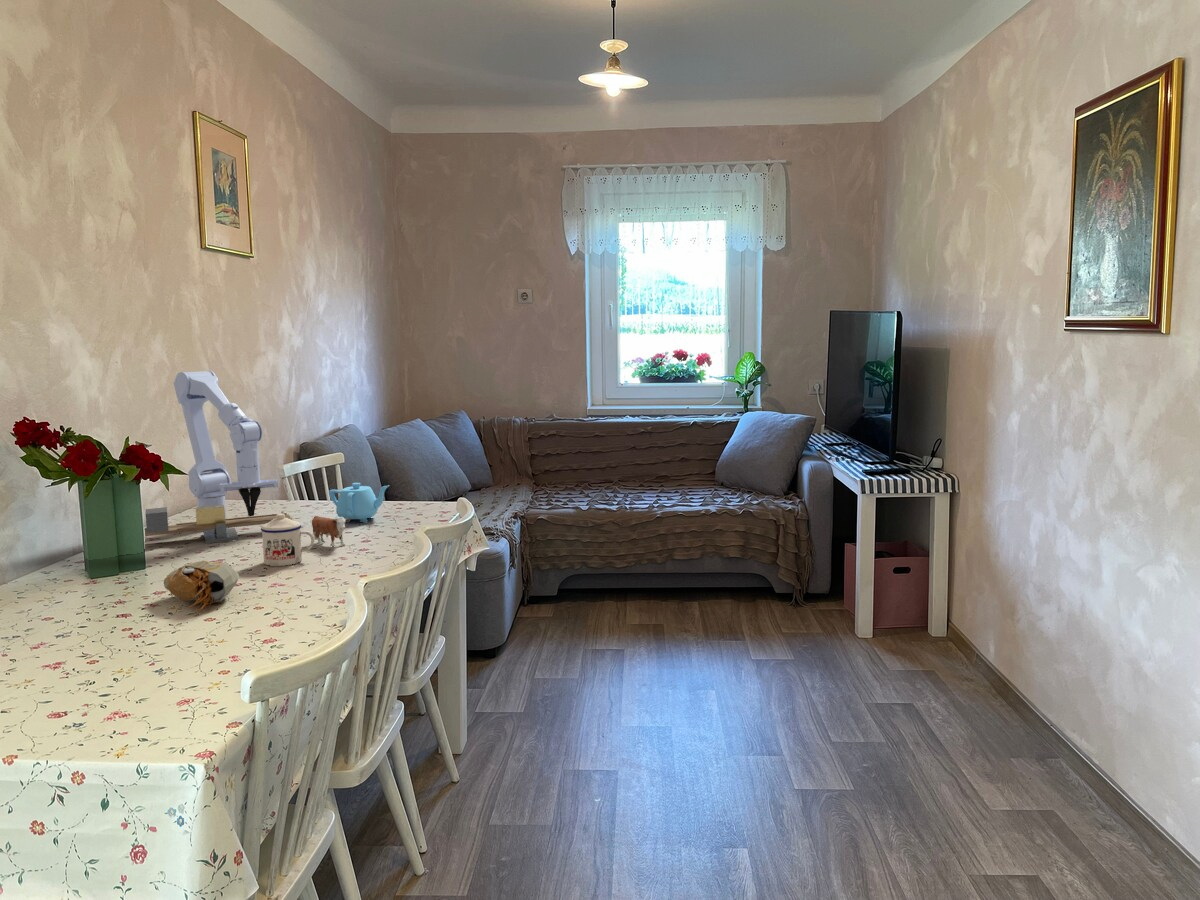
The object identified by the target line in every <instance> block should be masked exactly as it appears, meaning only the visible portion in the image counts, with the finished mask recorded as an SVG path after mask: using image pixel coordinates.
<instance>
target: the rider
mask: <svg viewBox="0 0 1200 900" xmlns="http://www.w3.org/2000/svg"><path fill="white" fill-rule="evenodd" d="M194 510H195V511H194V512H195V522H196V524H197V527H198V526H208V525H216V524H220V523H226V520H225V507H224V505H217V506H206V507H198V506H196V507H194Z"/></svg>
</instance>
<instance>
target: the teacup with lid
mask: <svg viewBox="0 0 1200 900" xmlns="http://www.w3.org/2000/svg"><path fill="white" fill-rule="evenodd" d="M276 514H277V515H276V519H273V520H271V521H270V522H269V523H266V524H261V528H260V531H261V536H262V538H261V539H262V553H263V563H264V565H265V566H268V565H270V566H269V567H286V566H285V565H288V566H292V564H293V565H296V564H299V563H301V562H302V560H303V553H304V552H308V551H309V550H311V549H312V548H313V546H314V544H315V541H316V540H315V538H314V535H313V532H311V531H308V530H301V528H302V525H301V522H299V521H298V520H293V519H292V520H291V519H289V518H285V515H284V514H282V513H276ZM301 535H308V536H309V537H310V540H311V541H310V544H309V546H307V547H303V548H302V536H301ZM298 562H299V563H298ZM295 563H296V564H295Z"/></svg>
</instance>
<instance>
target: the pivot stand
mask: <svg viewBox="0 0 1200 900" xmlns="http://www.w3.org/2000/svg"><path fill="white" fill-rule="evenodd" d="M202 532H203V534H204V535H203V537H204V538H205V539H204V538H203V539H204V542H205V544H206V543H208V544H215V542H217V543H226V541H227V542H234V541H233V540H236V541H239V535H238V533H237V530H236V527H232V528H226V523H220V524H216V529H212V530H202Z"/></svg>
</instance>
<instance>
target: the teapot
mask: <svg viewBox="0 0 1200 900" xmlns="http://www.w3.org/2000/svg"><path fill="white" fill-rule="evenodd" d="M389 487H390V485H389V484H388V485H384V486H382V487H381V488H380V489H379V494H378V497H376V495H375V493H374V491H373V489H372V487H371V486H369V485H368V486H367V485H361V482H353V483H351V486H347V487H344V488H343V489H341V490H340V489H330V490H329V491H328V495H329V498H330V499H331V501H332V503H333V504H334V506H336V507H335V510H336V511H335V513H336V515H337V517H343V518H344V519H347V518H349V519H350V520H349V521H348V522H349V523H350V522H351V520H359V522H367V521H368V520H369V519H367V518H371V517H374V516H375V515H376V514H377V513H378V510H379V508H380V507H381V506H382V504H383V503H384V498H385V497H384V496H385V492H386V489H387V488H389ZM335 494H339V495H338V496H339V497H338V498H336V496H335ZM368 522H369V521H368ZM368 522H367V523H368ZM345 524H347V523H346V522H345Z"/></svg>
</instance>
